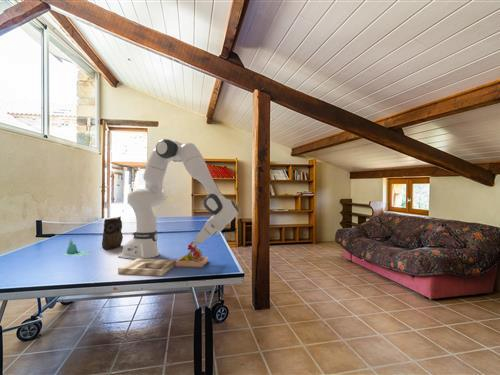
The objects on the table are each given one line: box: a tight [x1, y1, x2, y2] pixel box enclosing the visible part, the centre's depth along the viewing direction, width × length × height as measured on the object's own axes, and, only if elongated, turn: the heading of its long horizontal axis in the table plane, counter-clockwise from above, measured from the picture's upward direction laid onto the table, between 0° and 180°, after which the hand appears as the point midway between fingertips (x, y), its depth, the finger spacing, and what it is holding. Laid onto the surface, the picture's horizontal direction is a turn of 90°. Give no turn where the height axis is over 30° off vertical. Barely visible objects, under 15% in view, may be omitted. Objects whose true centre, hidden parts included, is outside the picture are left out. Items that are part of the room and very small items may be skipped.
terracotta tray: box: [174, 255, 209, 269], centre depth 140 cm, size 14×11×2 cm
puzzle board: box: [117, 258, 177, 277], centre depth 131 cm, size 21×17×3 cm
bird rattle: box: [183, 241, 203, 262], centre depth 141 cm, size 6×11×9 cm
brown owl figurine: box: [101, 216, 124, 251], centre depth 175 cm, size 13×13×20 cm
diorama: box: [62, 238, 93, 257], centre depth 160 cm, size 12×20×9 cm, turn 77°
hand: (195, 244), depth 140 cm, fingers open, 8 cm apart
